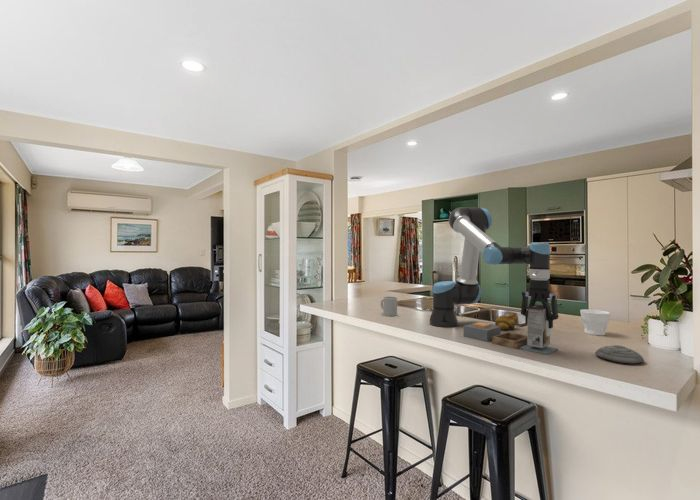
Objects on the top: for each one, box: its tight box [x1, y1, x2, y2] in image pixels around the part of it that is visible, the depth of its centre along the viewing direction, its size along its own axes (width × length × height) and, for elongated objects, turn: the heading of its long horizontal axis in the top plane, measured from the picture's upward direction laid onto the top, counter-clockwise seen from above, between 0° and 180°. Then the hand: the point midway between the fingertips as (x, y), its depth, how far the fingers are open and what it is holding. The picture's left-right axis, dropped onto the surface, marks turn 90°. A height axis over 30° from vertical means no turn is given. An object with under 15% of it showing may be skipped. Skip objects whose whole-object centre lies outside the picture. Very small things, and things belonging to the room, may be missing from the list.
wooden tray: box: [491, 331, 527, 350], centre depth 159 cm, size 11×14×3 cm
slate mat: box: [518, 345, 559, 356], centre depth 150 cm, size 11×11×1 cm
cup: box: [579, 308, 611, 336], centre depth 178 cm, size 12×12×11 cm
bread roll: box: [494, 313, 519, 331], centre depth 188 cm, size 13×10×8 cm
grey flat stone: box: [594, 344, 645, 364], centre depth 138 cm, size 15×15×6 cm
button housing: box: [463, 323, 502, 342], centre depth 170 cm, size 12×12×5 cm
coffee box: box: [526, 304, 551, 348], centre depth 150 cm, size 9×6×16 cm
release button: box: [472, 321, 492, 328], centre depth 170 cm, size 6×6×5 cm
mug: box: [380, 296, 398, 317], centre depth 224 cm, size 12×8×11 cm
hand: (538, 333), depth 150 cm, fingers closed on coffee box, 7 cm apart
